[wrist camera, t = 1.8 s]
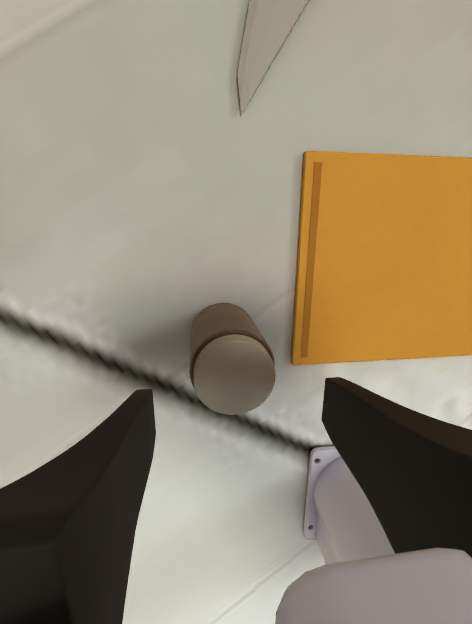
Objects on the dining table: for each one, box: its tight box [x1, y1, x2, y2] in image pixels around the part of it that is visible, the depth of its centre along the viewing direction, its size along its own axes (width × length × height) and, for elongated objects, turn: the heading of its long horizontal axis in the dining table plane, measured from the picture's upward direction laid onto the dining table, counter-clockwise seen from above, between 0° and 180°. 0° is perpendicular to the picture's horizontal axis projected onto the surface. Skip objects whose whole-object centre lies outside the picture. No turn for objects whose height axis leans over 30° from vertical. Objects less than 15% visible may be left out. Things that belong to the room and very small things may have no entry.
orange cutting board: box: [291, 151, 472, 365], centre depth 21 cm, size 14×20×1 cm
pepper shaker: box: [190, 303, 275, 415], centre depth 17 cm, size 4×4×6 cm
